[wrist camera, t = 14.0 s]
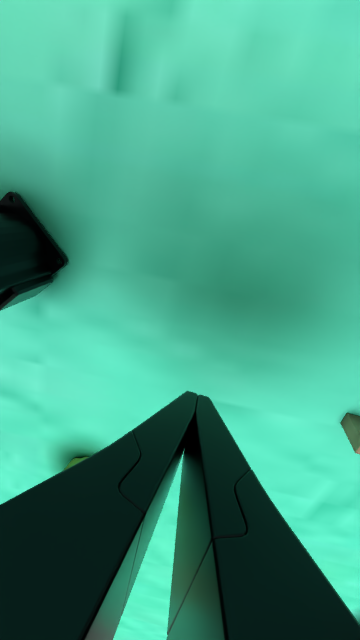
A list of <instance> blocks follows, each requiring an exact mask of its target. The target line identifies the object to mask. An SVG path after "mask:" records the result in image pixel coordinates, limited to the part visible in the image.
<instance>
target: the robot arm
mask: <svg viewBox="0 0 360 640" xmlns="http://www.w3.org/2000/svg"><path fill="white" fill-rule="evenodd" d="M13 197H14V199H15V202H14V201H13ZM59 259H61V260H62V263H61V262H60V261H59ZM67 262H68V261H67V258H66V256H65V255H64V254H63V252H62V251H61V250H60V248H59V247H58V246H57V244H56V243H55V242H54V240H53V239H52V238H51V236H50V235H49V234H48V233H47V231H46V230H45V229H44V227H43V226H42V225H41V223H40V222H39V221H38V219H37V218H36V217H35V215H34V214H33V213H32V211H31V210H30V209H29V207H28V206H27V205H26V203H25V202H24V201H23V199H22V198H21V197H20V195H19V194H18V193H16V192H8V193H7V194H6V195H5V196H4V197H3V199H2V200H1V201H0V311H1V310H3V309H5V308H8V307H10V306H12V305H15V304H17V303H19V302H22V301H24V300H26V299H29V298H31V297H33V296H36V295H37V294H38V293H40V292H41V291H42V290H43V289H45V288H46V287H47V286H48V285H50V284H51V283H52V282H53V276H54V275H55V274H56V273H57V272H59V271H60V270H61V269H62V268H64V267H65V266H66V265H67ZM183 451H184V454H183ZM182 455H183V463H182V474H181V485H180V496H179V507H178V518H177V529H176V541H175V552H174V563H173V574H172V585H171V596H170V607H169V618H168V630H167V635H168V636H167V640H360V624H359V623H358V621H357V620H356V618H355V617H354V616H353V614H352V613H351V611H350V610H349V609H348V607H347V606H346V604H345V603H344V602H343V600H342V599H341V598H340V596H339V595H338V593H337V592H336V591H335V589H334V588H333V586H332V585H331V584H330V582H329V581H328V579H327V578H326V577H325V575H324V574H323V572H322V571H321V570H320V568H319V567H318V566H317V564H316V563H315V561H314V560H313V559H312V557H311V556H310V554H309V553H308V552H307V550H306V549H305V547H304V546H303V545H302V543H301V542H300V540H299V539H298V538H297V536H296V535H295V533H294V532H293V531H292V529H291V528H290V527H289V525H288V524H287V522H286V521H285V520H284V518H283V517H282V515H281V514H280V512H279V511H278V509H277V508H276V507H275V505H274V504H273V502H272V501H271V499H270V498H269V496H268V495H267V493H266V491H265V490H264V488H263V487H262V485H261V483H260V482H259V480H258V479H257V477H256V475H255V473H254V472H253V470H251V467H250V466H249V464H248V462H247V461H246V459H245V457H244V456H243V454H242V452H241V451H240V449H239V447H238V445H237V444H236V442H235V440H234V439H233V437H232V435H231V434H230V432H229V430H228V428H227V427H226V425H225V423H224V422H223V420H222V418H221V417H220V415H219V413H218V411H217V410H216V408H215V406H214V405H213V403H212V401H211V400H210V398H209V397H206V396H203V395H197V394H196V393H193V392H190V391H186V392H185V393H183V394H182V395H181V396H179V397H178V398H176V399H175V400H174V401H172V402H171V403H169V404H168V405H167V406H165V407H164V408H162V409H161V410H160V411H158V412H157V413H155V414H154V415H153V416H151V417H150V418H148V419H147V420H146V421H144V422H143V423H141V424H140V425H139V426H137V427H136V428H134V429H133V430H132V431H130V432H128V433H127V434H125V435H124V436H123V437H121V438H120V439H118V440H117V441H115V442H114V443H112V444H111V445H109V446H107V447H106V448H104V449H102V450H100V451H99V452H97V453H95V454H93V455H92V456H90V457H88V458H86V459H84V460H82V461H81V462H79V463H77V464H75V465H73V466H71V467H69V468H68V469H66V470H64V471H62V472H60V473H58V474H56V475H55V476H53V477H51V478H49V479H47V480H45V481H43V482H42V483H40V484H38V485H36V486H34V487H32V488H30V489H29V490H27V491H25V492H23V493H21V494H19V495H18V496H16V497H14V498H12V499H10V500H8V501H6V502H5V503H3V504H1V505H0V640H113V638H114V635H115V632H116V630H117V627H118V624H119V622H120V618H121V616H122V614H123V611H124V608H125V606H126V603H127V600H128V598H129V595H130V592H131V590H132V587H133V585H134V582H135V579H136V577H137V574H138V571H139V569H140V566H141V563H142V561H143V558H144V556H145V553H146V550H147V548H148V545H149V542H150V540H151V537H152V534H153V532H154V529H155V526H156V524H157V521H158V519H159V516H160V513H161V511H162V508H163V505H164V503H165V500H166V497H167V495H168V492H169V490H170V487H171V484H172V482H173V479H174V476H175V474H176V471H177V468H178V466H179V463H180V460H181V458H182Z"/></svg>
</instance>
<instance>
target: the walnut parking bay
mask: <svg viewBox="0 0 360 640" xmlns="http://www.w3.org/2000/svg"><path fill="white" fill-rule="evenodd" d="M341 425H342V427H343V429H344V431H345V433H346V435H347V437H348V439H349V441H350V443H351V445H352V447H353V449H354V451H355V453H357V454H360V416H356V415H353V414H349V413H347V414H346V415H345V417H344V418H343V420H342V422H341Z"/></svg>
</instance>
